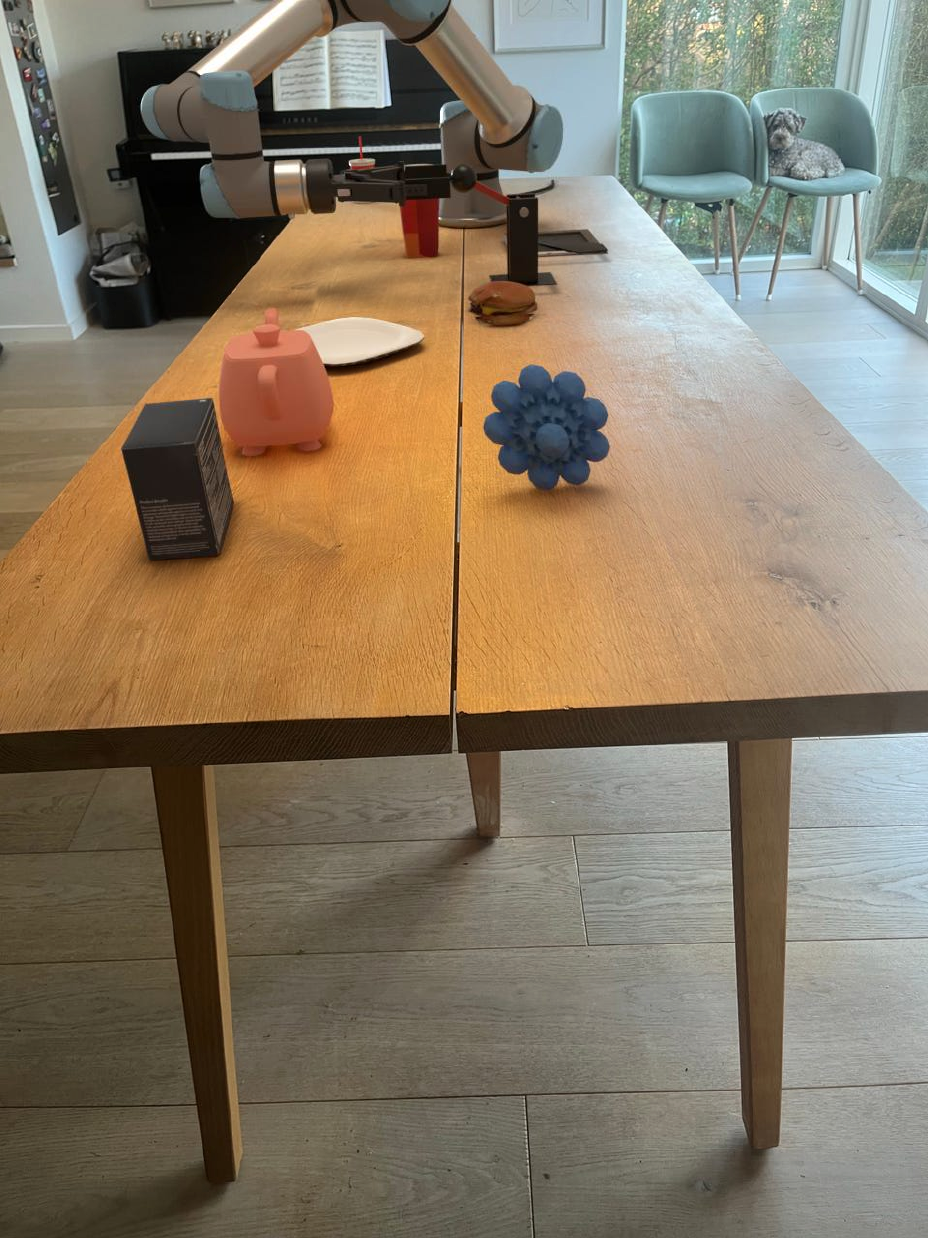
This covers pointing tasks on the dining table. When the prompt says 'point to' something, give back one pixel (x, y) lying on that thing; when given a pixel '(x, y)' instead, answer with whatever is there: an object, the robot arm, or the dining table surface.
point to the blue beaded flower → (547, 427)
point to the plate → (359, 340)
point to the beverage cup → (361, 163)
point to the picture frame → (568, 243)
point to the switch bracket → (523, 243)
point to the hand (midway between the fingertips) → (448, 180)
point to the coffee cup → (420, 226)
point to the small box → (179, 479)
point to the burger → (502, 302)
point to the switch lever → (473, 183)
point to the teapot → (274, 389)
